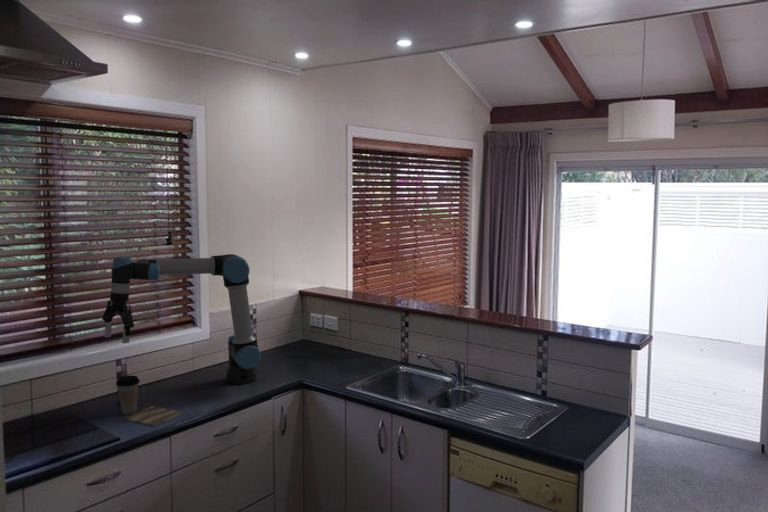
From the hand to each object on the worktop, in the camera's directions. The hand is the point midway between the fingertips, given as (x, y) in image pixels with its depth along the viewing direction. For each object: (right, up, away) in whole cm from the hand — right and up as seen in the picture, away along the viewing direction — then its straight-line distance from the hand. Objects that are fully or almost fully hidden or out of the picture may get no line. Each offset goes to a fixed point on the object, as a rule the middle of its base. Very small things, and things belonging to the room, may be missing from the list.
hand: (116, 339), depth 276 cm
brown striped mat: (+20, -31, -10) cm, 39 cm away
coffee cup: (+8, -31, -4) cm, 32 cm away
